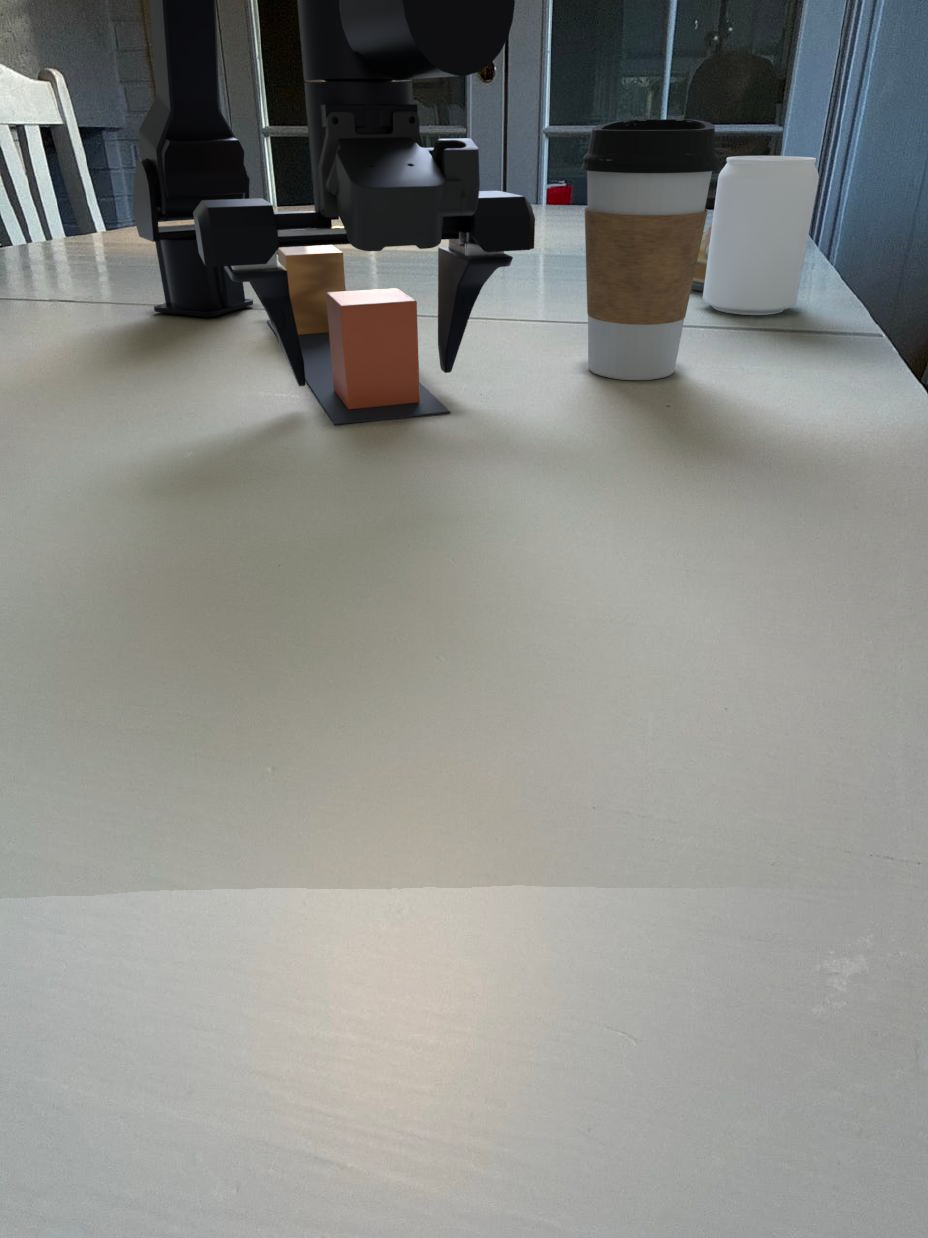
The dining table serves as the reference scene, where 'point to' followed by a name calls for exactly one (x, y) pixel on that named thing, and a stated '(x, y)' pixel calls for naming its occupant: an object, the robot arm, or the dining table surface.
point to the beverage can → (760, 233)
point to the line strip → (322, 386)
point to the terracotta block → (374, 347)
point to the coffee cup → (643, 240)
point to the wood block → (312, 283)
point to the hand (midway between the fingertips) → (375, 377)
